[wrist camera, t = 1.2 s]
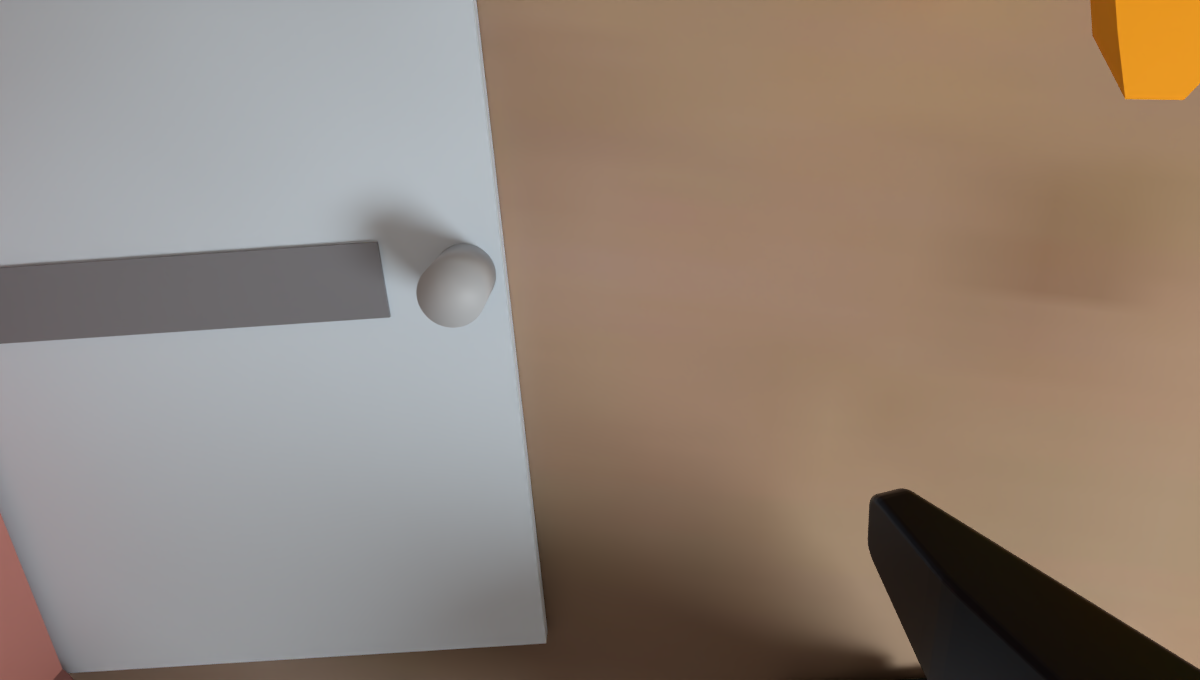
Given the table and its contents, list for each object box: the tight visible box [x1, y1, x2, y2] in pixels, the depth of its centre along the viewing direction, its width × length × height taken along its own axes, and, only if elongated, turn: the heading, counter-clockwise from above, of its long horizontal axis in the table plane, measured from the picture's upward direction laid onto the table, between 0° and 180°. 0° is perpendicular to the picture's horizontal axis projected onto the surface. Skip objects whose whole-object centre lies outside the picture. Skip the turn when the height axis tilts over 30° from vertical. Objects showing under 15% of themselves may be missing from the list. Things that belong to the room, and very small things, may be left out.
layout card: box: [0, 0, 547, 673], centre depth 18 cm, size 23×21×3 cm
